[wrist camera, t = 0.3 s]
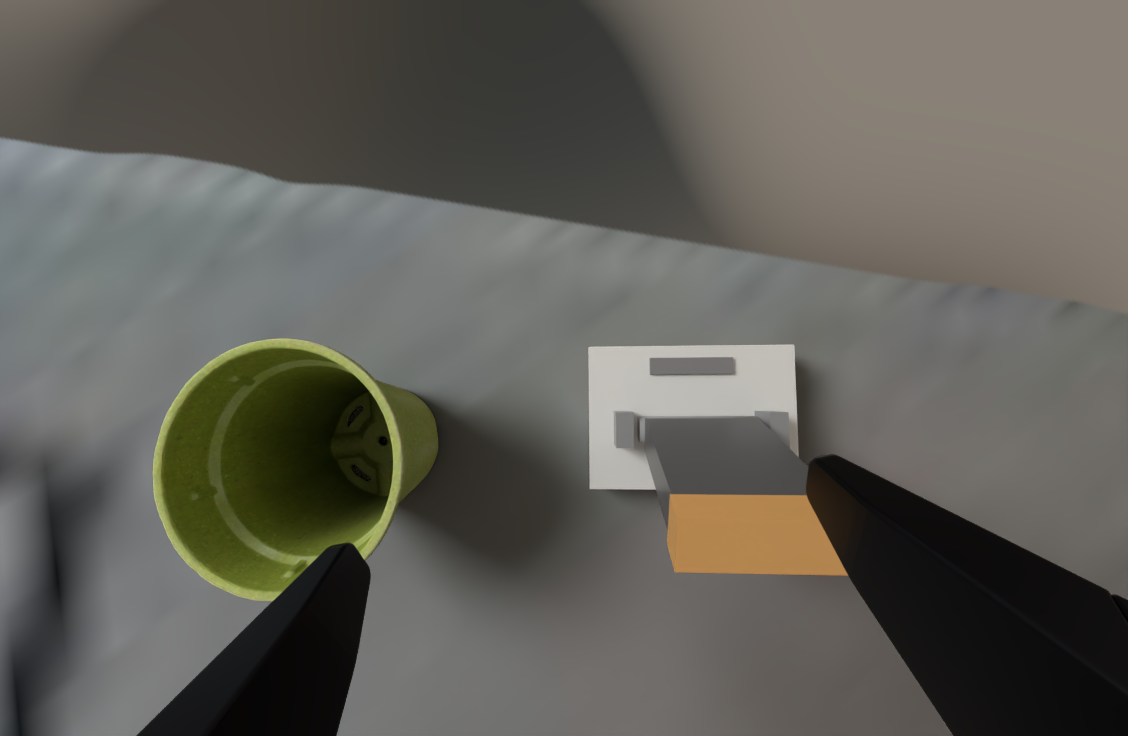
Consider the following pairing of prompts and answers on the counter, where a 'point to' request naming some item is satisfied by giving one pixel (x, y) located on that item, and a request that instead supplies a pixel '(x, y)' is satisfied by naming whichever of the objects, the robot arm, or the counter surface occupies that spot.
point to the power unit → (680, 398)
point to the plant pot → (284, 463)
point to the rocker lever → (734, 498)
